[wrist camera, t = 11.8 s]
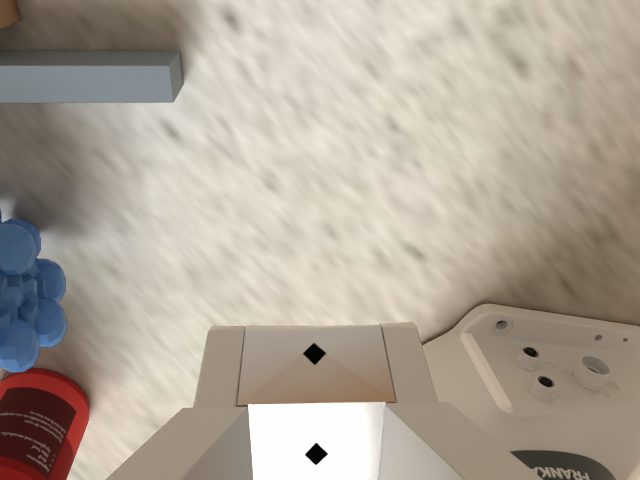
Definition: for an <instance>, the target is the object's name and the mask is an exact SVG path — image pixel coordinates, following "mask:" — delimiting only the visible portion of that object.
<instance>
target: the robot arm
mask: <svg viewBox="0 0 640 480" xmlns="http://www.w3.org/2000/svg"><path fill="white" fill-rule="evenodd" d="M502 320H503V322H501V323H498V322H499V321H502ZM639 476H640V326H635V325H629V324H622V323H616V322H609V321H602V320H596V319H589V318H582V317H576V316H569V315H562V314H556V313H549V312H542V311H536V310H529V309H522V308H516V307H509V306H502V305H496V304H482V305H479V306H477V307H475V308H474V309H472V310H471V311H470V312H469V313H468V314H467V315H466V316H464V318H463V319H462V320H461V321H460V322H459V323H458V324H457V325H456V326H455V327H454V328H453V329H452V330H450V331H449V332H447V333H445V334H443V335H441V336H439V337H438V338H436V339H434V340H432V341H430V342H428V343H426V344H424V345H423V346H422V344H421V340H420V337H419V333H418V330H417V326H416V325H415V324H414V323H413V322H409V323H385V324H379V325H347V326H246V327H245V326H212V327H211V328H210V330H209V332H208V335H207V340H206V345H205V350H204V355H203V360H202V366H201V371H200V376H199V381H198V386H197V391H196V396H195V401H194V406H193V408H182V409H181V410H180V411H179V412H178V413H177V414H176V415H175V416H174V417H172V418H171V419H170V420H169V421H168V422H167V423H166V424H165V425H164V426H163V427H162V428H161V429H160V430H159V431H157V432H156V433H155V434H154V435H153V436H152V437H151V438H150V439H149V440H148V441H147V442H146V443H145V444H143V445H142V446H141V447H140V448H139V449H138V450H137V451H136V452H135V453H134V454H133V455H132V456H131V457H129V458H128V459H127V460H126V461H125V462H124V463H123V464H122V465H121V466H120V467H119V468H118V469H117V470H115V471H114V472H113V473H112V474H111V475H110V476H109V477H108V478H107V479H106V480H637V479H638V477H639Z"/></svg>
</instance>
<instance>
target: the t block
mask: <svg viewBox="0 0 640 480" xmlns="http://www.w3.org/2000/svg"><path fill="white" fill-rule="evenodd" d="M20 20H21V18H20V14H19V10H18V5H17V1H16V0H0V29H2V28H4V27H6V26H9V25H11V24H13V23H15V22H18V21H20Z"/></svg>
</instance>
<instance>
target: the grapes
mask: <svg viewBox="0 0 640 480" xmlns="http://www.w3.org/2000/svg"><path fill="white" fill-rule="evenodd" d="M40 250H41V238H40V235H39V232H38V230H37V228H36V227H35V226H34V225H33V224H32V223H30V222H28V221H25V220H23V219H9V220H7V221H5V222H3V223H2V212H1V209H0V368H2V369H4V370H7V371H9V372H24V371H26V370H27V369H29V368H31V367H32V366H34V364H35V362H36V360H37V358H38V356H39V354H40V347H53V346H55V345H56V344H58V343H59V342H61V341H62V340H63V338H64V336H65V333H66V331H67V318H66V315H65V312H64V309H63V308H62V307H61V305H60V304H58V303H57V302H58V301H60V300H61V299H62V297H63V295H64V293H65V291H66V278H65V275H64V272H63V270H62V268H61V267H60V266H59V265H58V264H56V263H55V262H53V261H50V260H48V259H37V256H38V254H39V252H40Z"/></svg>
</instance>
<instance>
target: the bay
mask: <svg viewBox="0 0 640 480" xmlns="http://www.w3.org/2000/svg"><path fill="white" fill-rule="evenodd" d="M182 86H183V76H182V67H181V57H180V51H0V103H171V102H174V100H175V99H176V97H177V95H178V93H179V92H180V90H181V88H182Z"/></svg>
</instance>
